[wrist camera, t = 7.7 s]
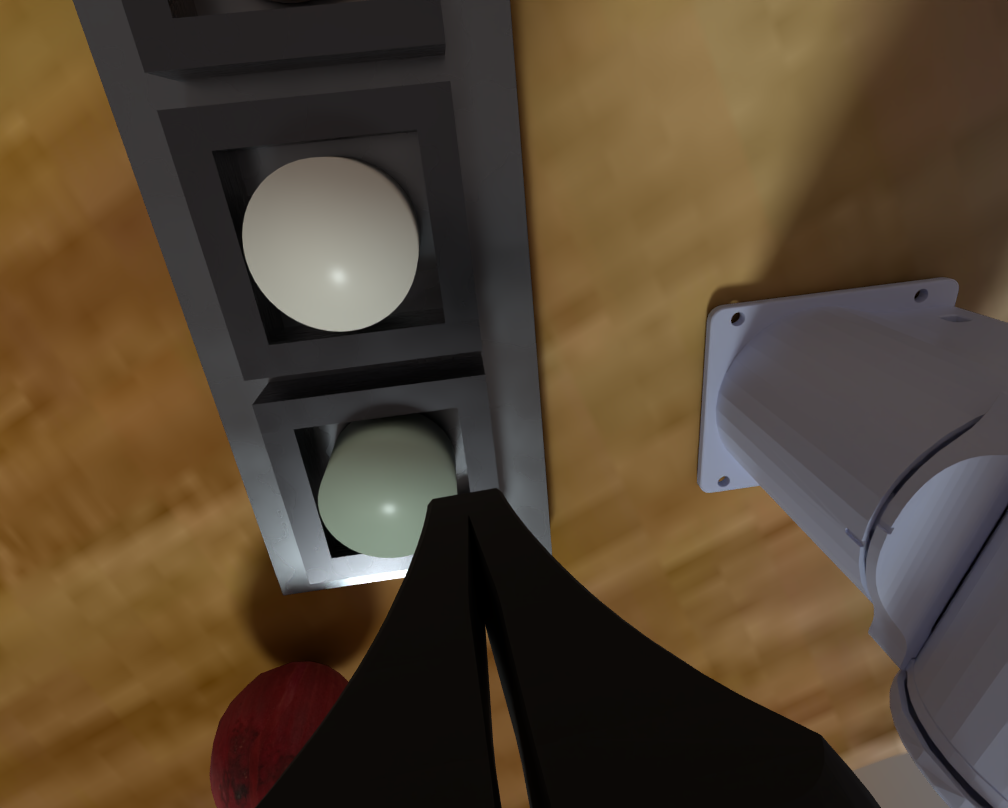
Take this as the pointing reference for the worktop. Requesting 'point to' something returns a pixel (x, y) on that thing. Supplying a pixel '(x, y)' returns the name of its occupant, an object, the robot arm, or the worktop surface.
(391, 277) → the button cream
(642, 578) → the worktop surface
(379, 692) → the robot arm
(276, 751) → the onion
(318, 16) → the tray
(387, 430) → the button sage
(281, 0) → the button terracotta
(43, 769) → the worktop surface
